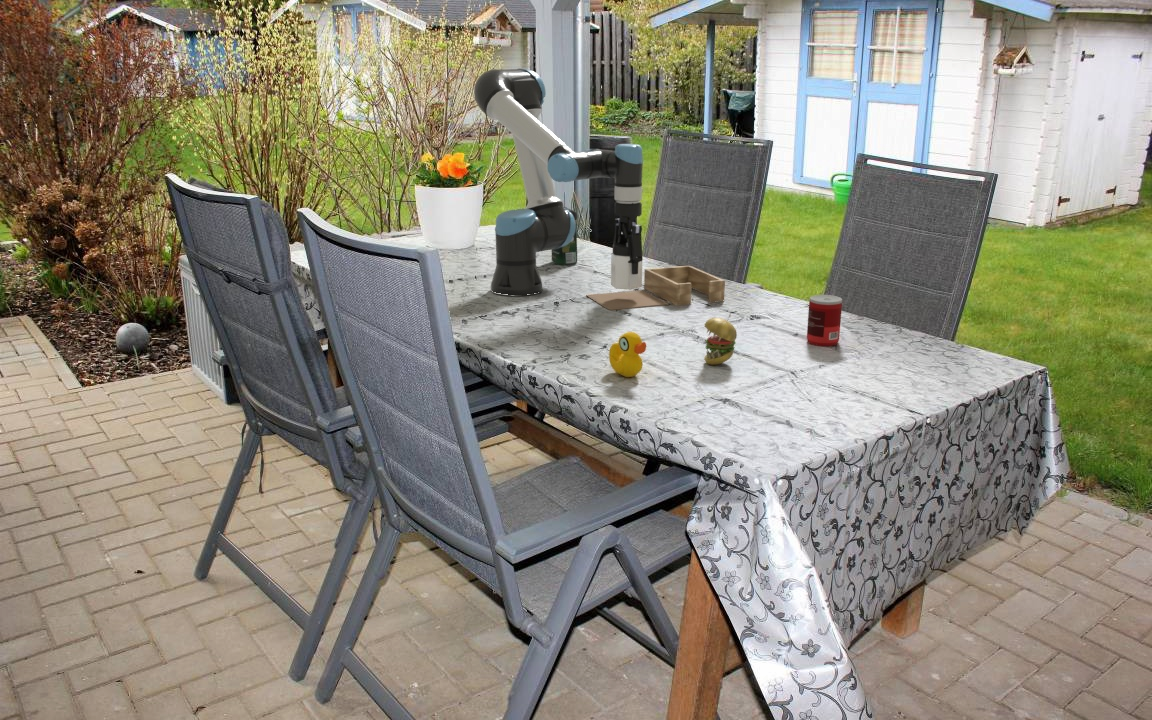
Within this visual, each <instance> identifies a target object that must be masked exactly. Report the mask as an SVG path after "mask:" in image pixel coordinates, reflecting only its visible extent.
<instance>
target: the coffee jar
mask: <svg viewBox="0 0 1152 720" xmlns="http://www.w3.org/2000/svg"><path fill="white" fill-rule="evenodd" d="M563 207H564V208H565V209H567V210H569V211H570V213H572V215H573V217H574V219H575V234H574V236H573V237H572V240H571V242H570V243H569V244H567V245H566V246H564V247H560V248H558V249H551V261H552V263H554V264H556V265H558V266H572V265H575V264H577V263H578V237H577V235H578V234H577V233H578V232H577V231H578V212H577V211H575V210H573V209H571V208H568V207H567V206H563Z"/></svg>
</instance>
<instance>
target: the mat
mask: <svg viewBox="0 0 1152 720" xmlns="http://www.w3.org/2000/svg"><path fill="white" fill-rule="evenodd" d="M587 296H588V297H587ZM585 297H587V298H589V299H590V298H591V299H590V300H592V299H593V300H594V302H595V301H596V302H595V303H597V304H598V305H600V306H601V307H603V308H605V309H606V310H608V311H615V310H628V309H638V308H649V307H651V308H652V307H659V306H660V307H661V306H669V305H670V303H669V302H668V301H666V300H664V299H662V298H660V297H658V296H656V295H655V296H654V294H652V293H650V292H649V291H647V290H645V289H642V290H629V291H617V292H605V293H604V292H603V293H595V294H594V293H592V294H586V295H585ZM593 300H592V301H593Z"/></svg>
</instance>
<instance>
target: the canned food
mask: <svg viewBox="0 0 1152 720" xmlns="http://www.w3.org/2000/svg"><path fill="white" fill-rule="evenodd" d="M842 309H843V298H842V297H840V296H837V295H834V294H833V295H832V294H831V295H830V294H815V295H811V296H810V297H809V302H808V313H807V329H806V341H807V342H808V343H809V345H812V346H816V347H832V346H833V345H834V346H835V345H837V344H838V343H839V341H840V332H841V323H842Z"/></svg>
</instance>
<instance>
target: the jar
mask: <svg viewBox="0 0 1152 720" xmlns="http://www.w3.org/2000/svg"><path fill="white" fill-rule="evenodd" d="M610 254H611V255H610V256H611V257H610V259H611V261H610V285H611V286H612V287H613V288H614V289H616V290H629V291H632V290H635V289H640V288H642V287H643V260H642V261H640V262H639V268H638V285H633V286H629V285H628V268H629V263H628V261H629V260H630V257H629V248H628V243H614V242H613V244H612V252H611V253H610Z"/></svg>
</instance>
